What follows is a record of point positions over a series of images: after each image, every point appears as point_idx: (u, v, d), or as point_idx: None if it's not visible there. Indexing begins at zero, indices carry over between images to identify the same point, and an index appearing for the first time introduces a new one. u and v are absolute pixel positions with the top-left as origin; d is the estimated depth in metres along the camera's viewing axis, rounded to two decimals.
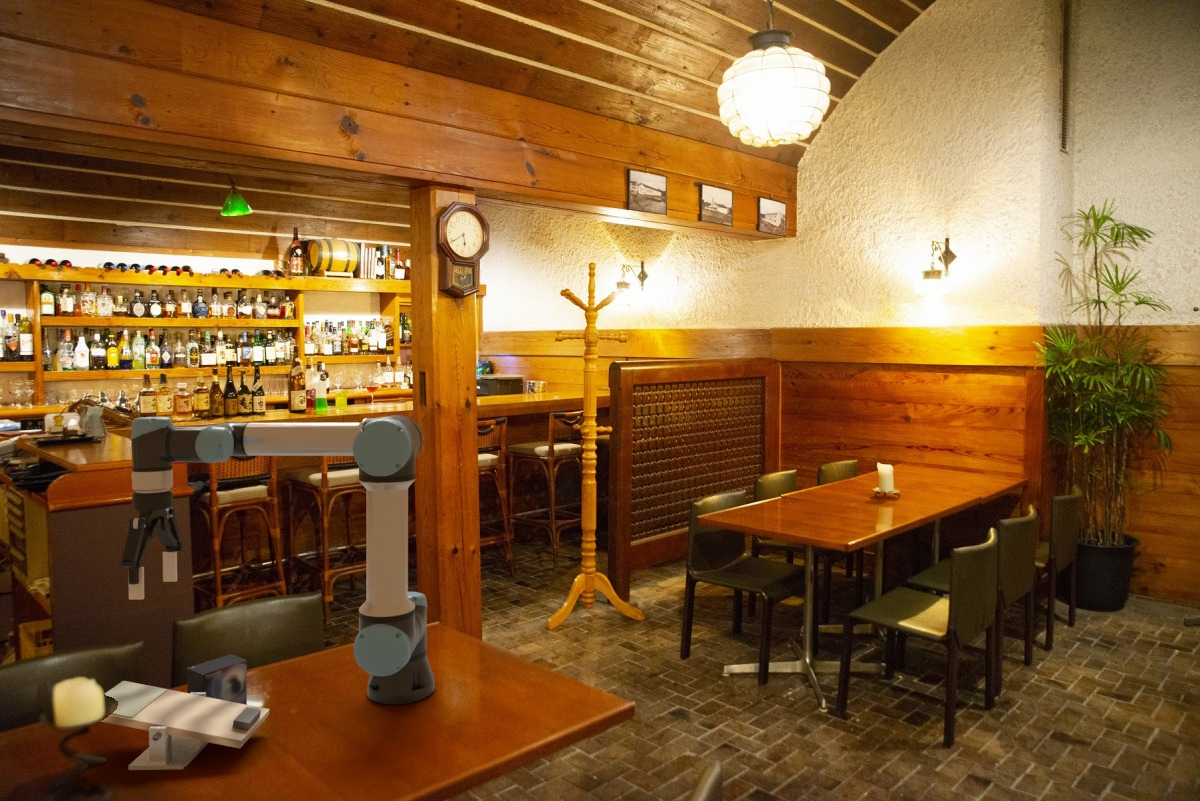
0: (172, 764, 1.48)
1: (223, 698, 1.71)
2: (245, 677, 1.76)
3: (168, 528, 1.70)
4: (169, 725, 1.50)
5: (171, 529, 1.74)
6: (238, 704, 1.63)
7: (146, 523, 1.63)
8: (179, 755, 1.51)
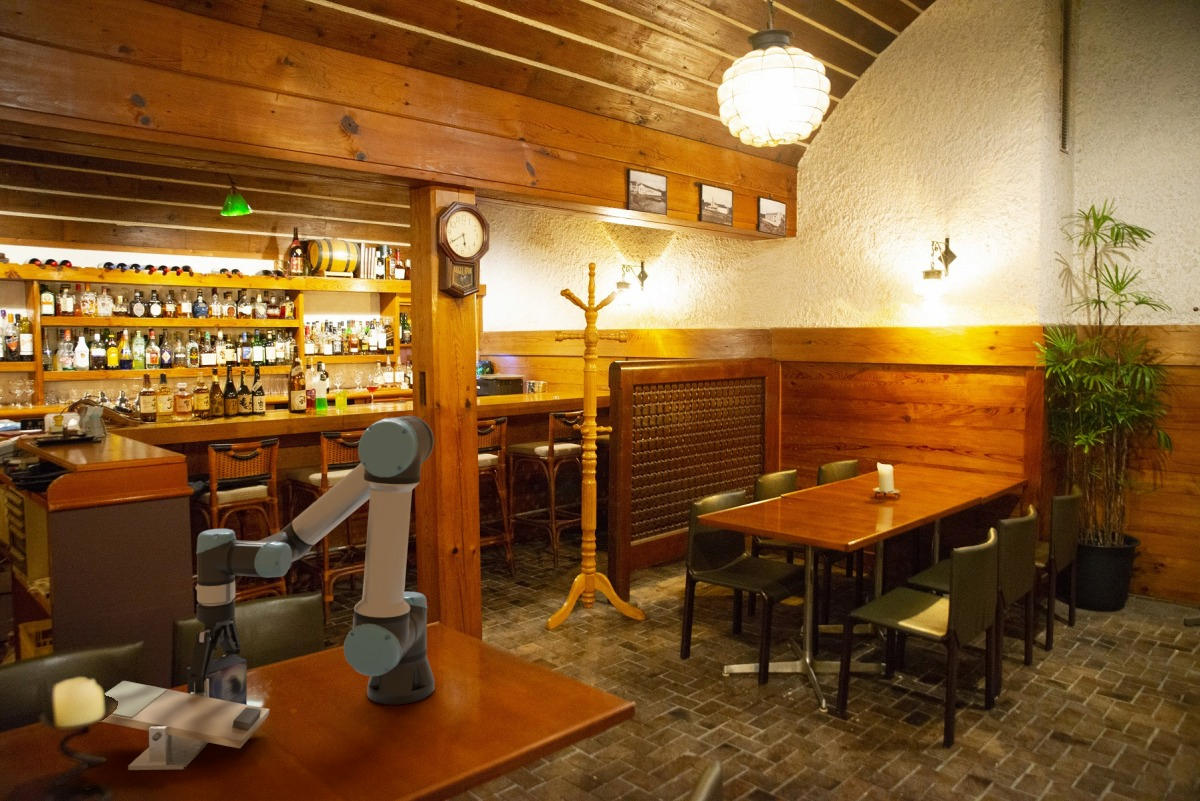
0: (172, 764, 1.48)
1: (223, 698, 1.71)
2: (245, 677, 1.76)
3: (229, 635, 1.76)
4: (169, 725, 1.50)
5: (231, 634, 1.80)
6: (238, 704, 1.63)
7: (211, 635, 1.69)
8: (179, 755, 1.51)
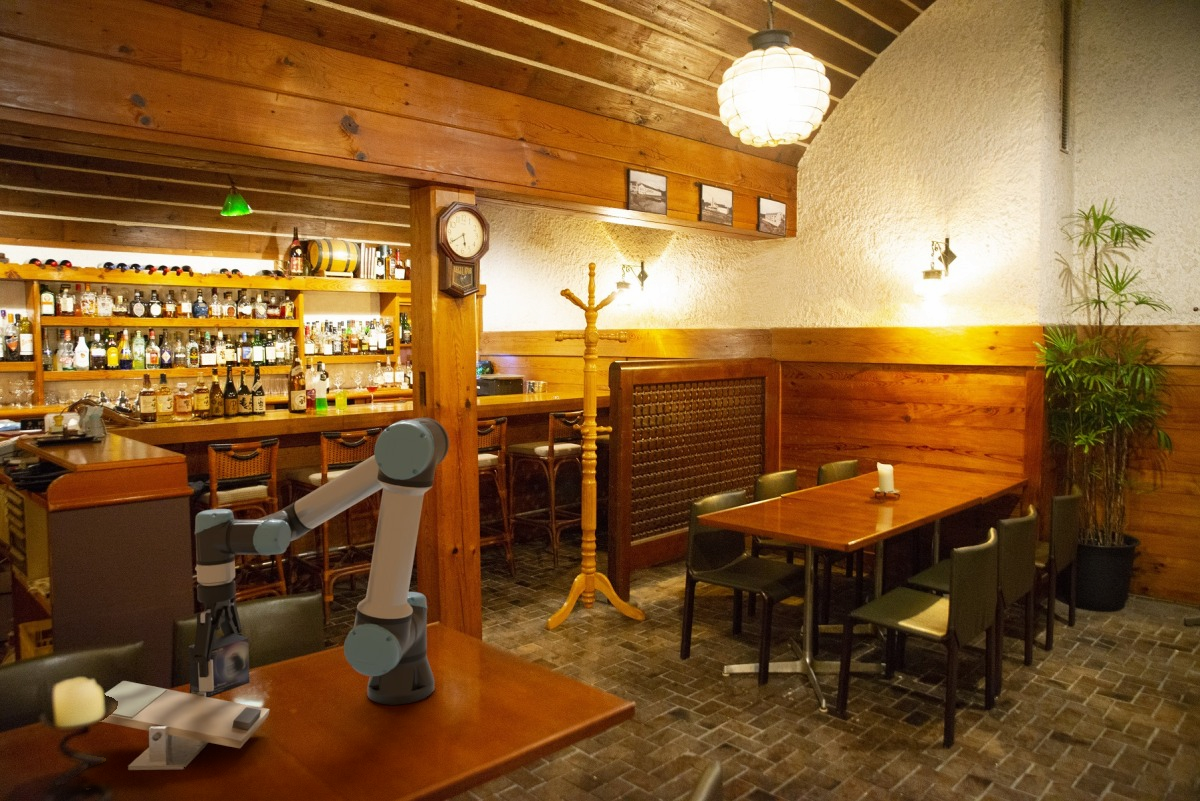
0: (172, 764, 1.48)
1: (226, 675, 1.71)
2: (247, 655, 1.75)
3: (230, 617, 1.76)
4: (169, 725, 1.50)
5: (232, 617, 1.80)
6: (238, 704, 1.63)
7: (212, 615, 1.69)
8: (179, 755, 1.51)
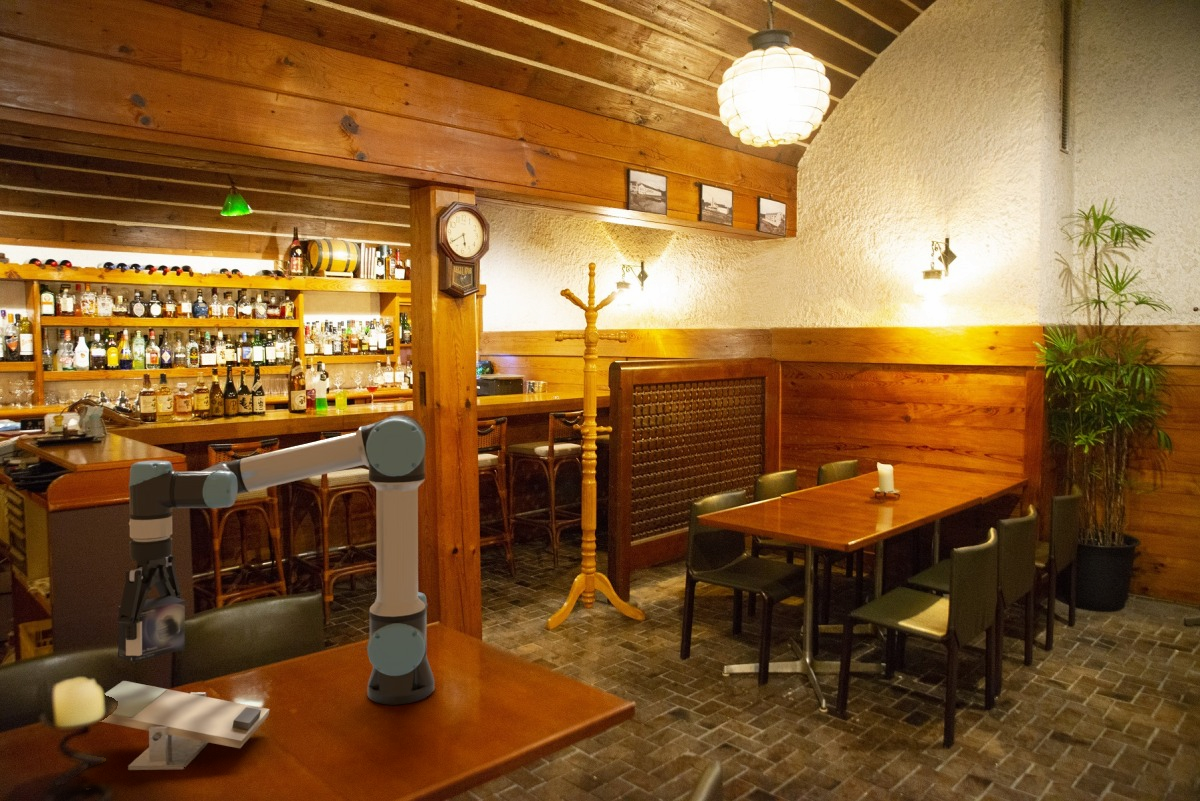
0: (172, 764, 1.48)
1: (157, 639, 1.58)
2: (183, 619, 1.63)
3: (166, 577, 1.63)
4: (169, 725, 1.50)
5: (170, 578, 1.67)
6: (238, 704, 1.63)
7: (143, 574, 1.56)
8: (179, 755, 1.51)
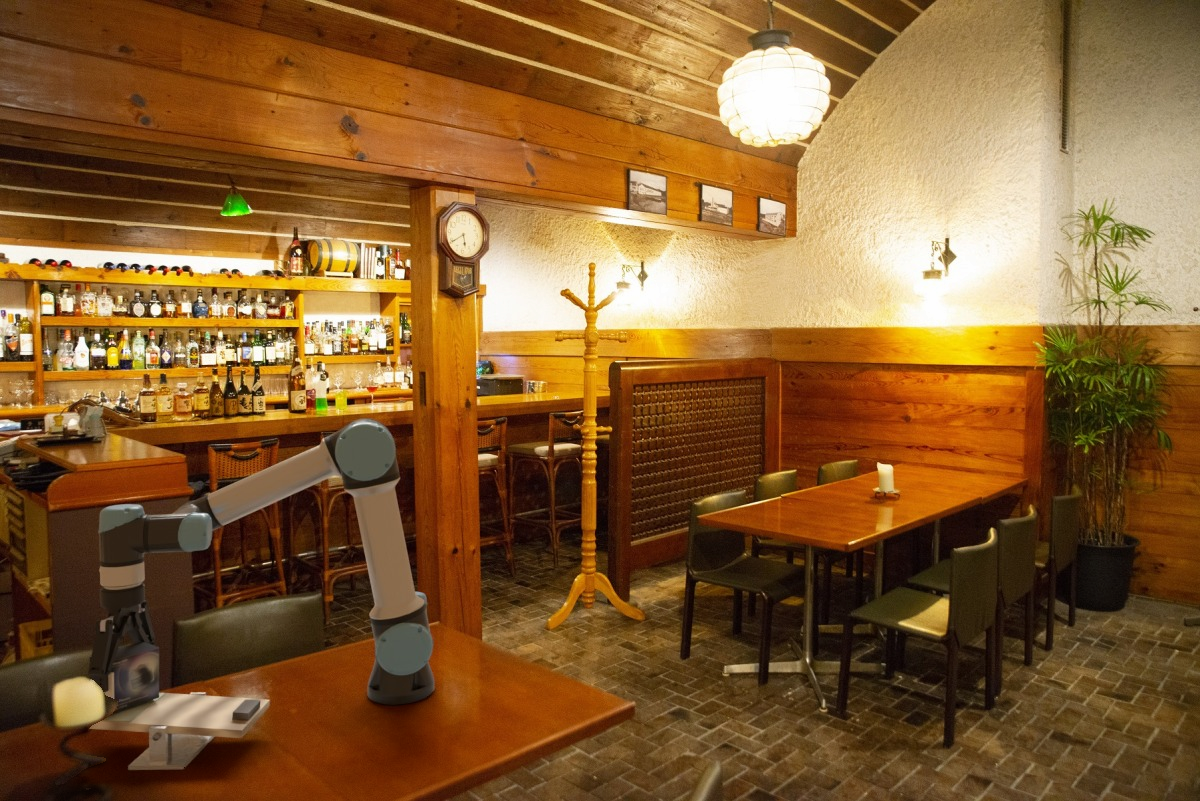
0: (172, 764, 1.48)
1: (130, 690, 1.53)
2: (157, 667, 1.58)
3: (139, 624, 1.58)
4: (168, 724, 1.50)
5: (143, 624, 1.62)
6: (238, 698, 1.63)
7: (115, 623, 1.51)
8: (179, 755, 1.51)
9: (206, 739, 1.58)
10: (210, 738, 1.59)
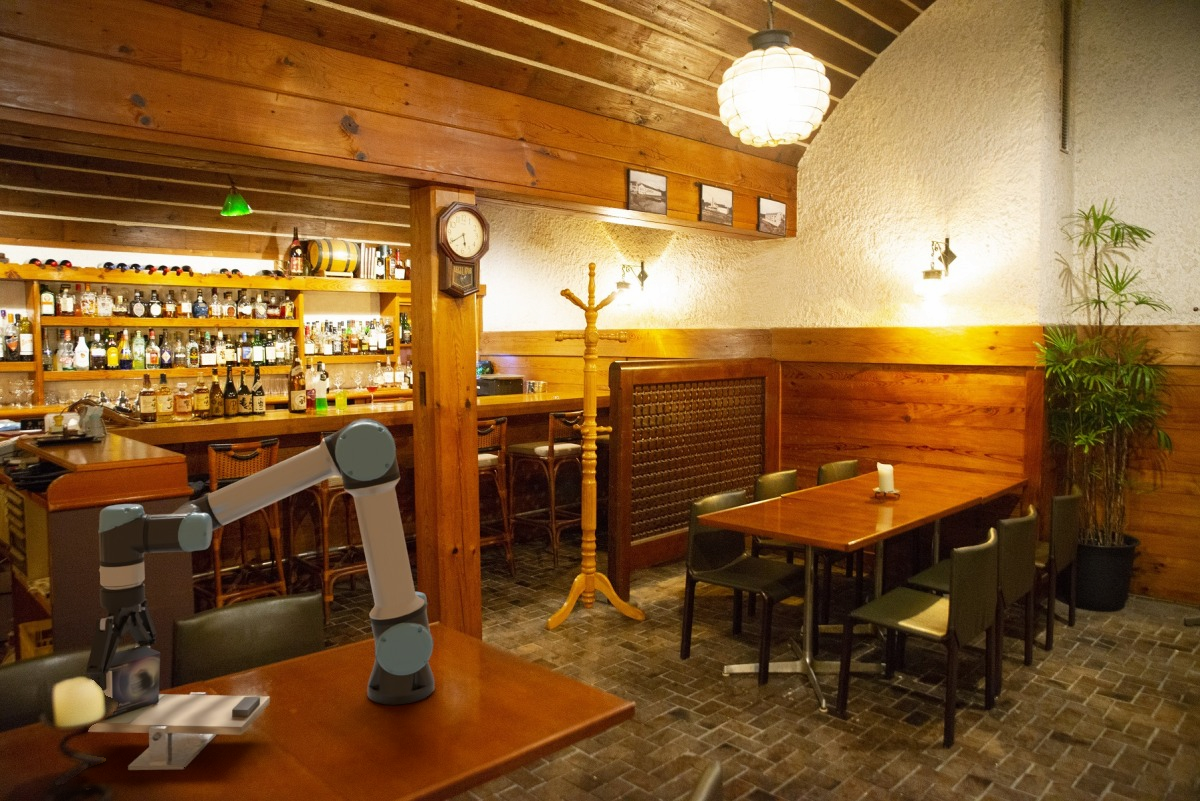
0: (172, 764, 1.48)
1: (130, 694, 1.53)
2: (158, 671, 1.58)
3: (140, 623, 1.58)
4: (167, 724, 1.50)
5: (144, 622, 1.62)
6: (238, 696, 1.63)
7: (115, 622, 1.51)
8: (179, 755, 1.51)
9: (206, 739, 1.58)
10: (210, 738, 1.59)
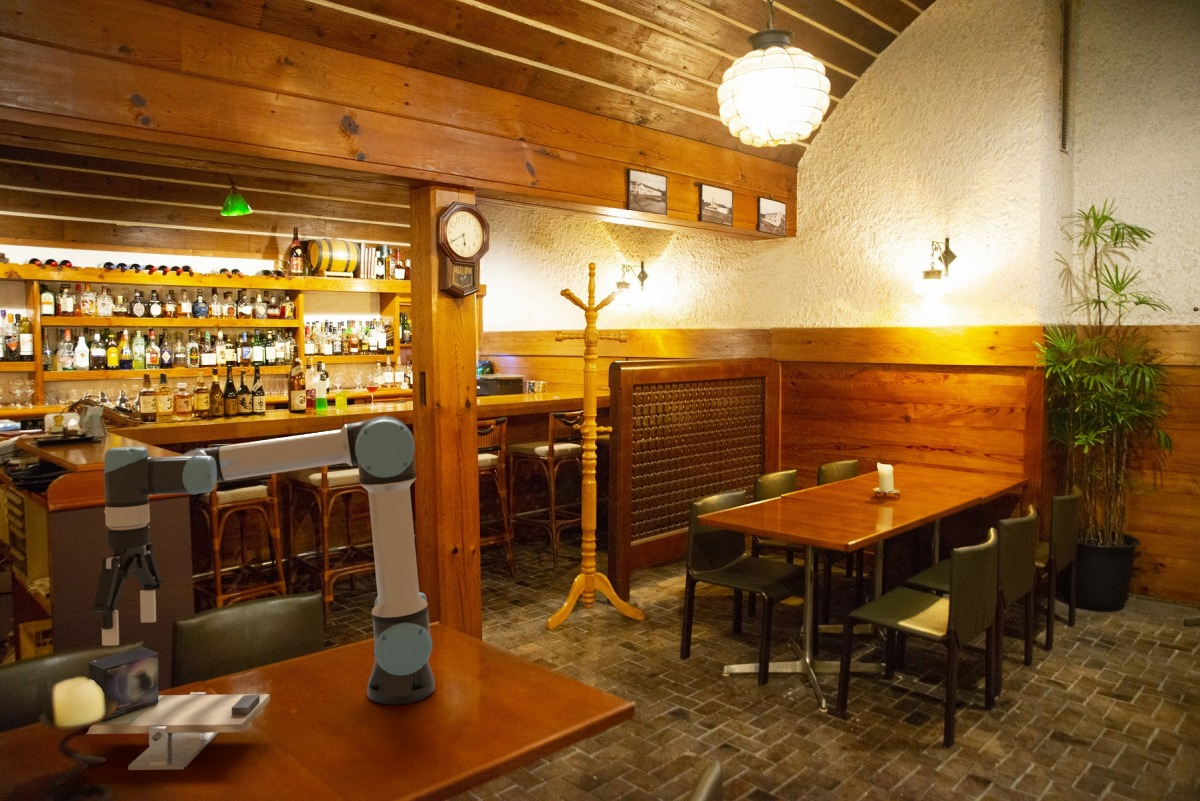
0: (172, 764, 1.48)
1: (129, 696, 1.53)
2: (156, 672, 1.58)
3: (145, 566, 1.59)
4: (167, 724, 1.50)
5: (149, 566, 1.63)
6: (237, 695, 1.63)
7: (120, 562, 1.52)
8: (179, 755, 1.51)
9: (206, 739, 1.58)
10: (210, 738, 1.59)
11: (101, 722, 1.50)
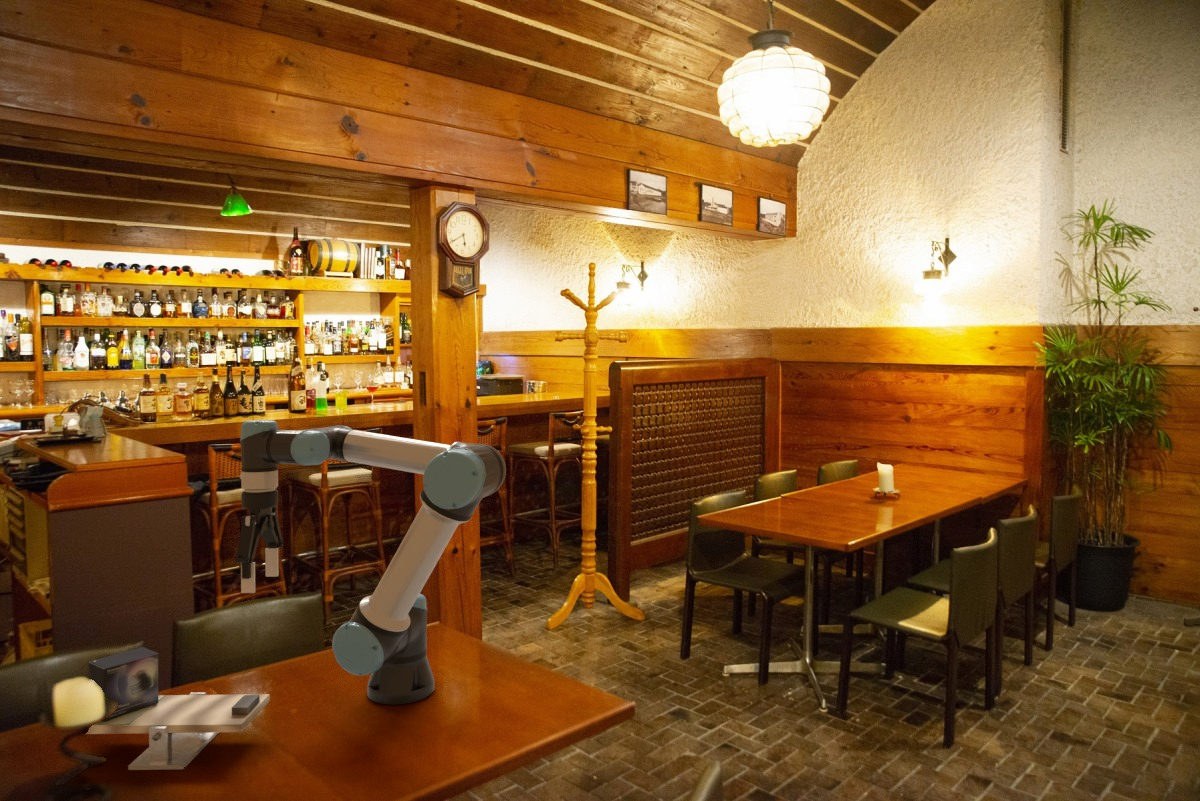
0: (172, 764, 1.48)
1: (129, 696, 1.53)
2: (156, 672, 1.58)
3: (272, 525, 1.79)
4: (167, 724, 1.50)
5: (273, 526, 1.83)
6: (237, 695, 1.63)
7: (256, 521, 1.72)
8: (179, 755, 1.51)
9: (206, 739, 1.58)
10: (210, 738, 1.59)
11: (101, 722, 1.50)
